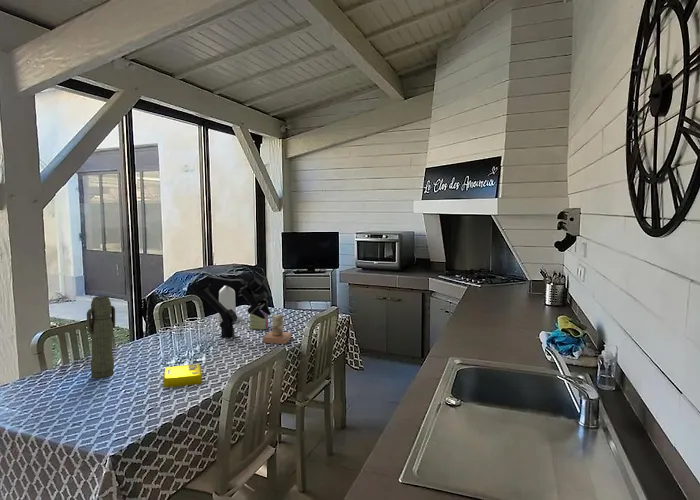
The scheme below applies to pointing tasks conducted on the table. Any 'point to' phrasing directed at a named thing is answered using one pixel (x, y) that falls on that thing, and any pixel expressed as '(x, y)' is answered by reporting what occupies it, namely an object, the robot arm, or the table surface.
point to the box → (258, 321)
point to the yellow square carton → (182, 375)
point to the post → (277, 325)
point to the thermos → (101, 336)
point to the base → (277, 338)
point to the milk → (227, 299)
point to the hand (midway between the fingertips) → (267, 316)
